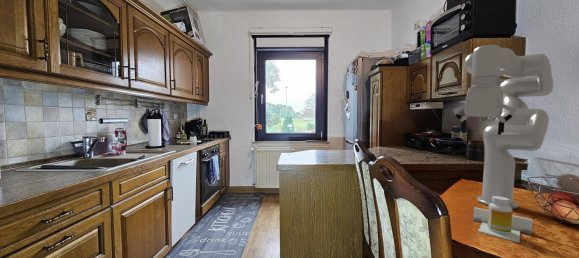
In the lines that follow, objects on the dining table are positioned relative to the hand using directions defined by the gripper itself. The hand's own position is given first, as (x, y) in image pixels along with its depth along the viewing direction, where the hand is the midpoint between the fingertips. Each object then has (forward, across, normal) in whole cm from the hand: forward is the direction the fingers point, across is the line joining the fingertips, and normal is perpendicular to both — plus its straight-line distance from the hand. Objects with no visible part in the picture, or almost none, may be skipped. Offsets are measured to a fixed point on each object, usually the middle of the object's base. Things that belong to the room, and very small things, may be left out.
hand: (481, 133), depth 88 cm
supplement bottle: (+28, -7, +12) cm, 31 cm away
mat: (+28, -7, +12) cm, 32 cm away
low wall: (+28, -7, +6) cm, 30 cm away
